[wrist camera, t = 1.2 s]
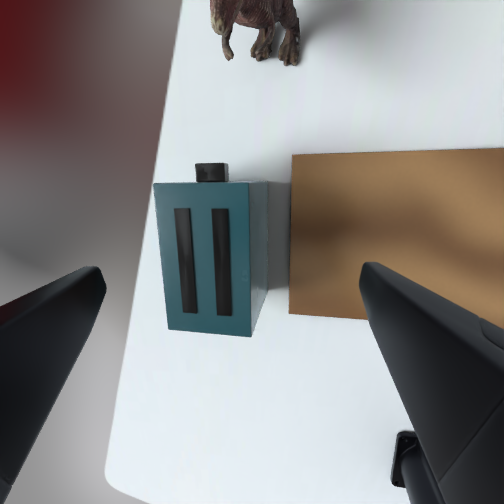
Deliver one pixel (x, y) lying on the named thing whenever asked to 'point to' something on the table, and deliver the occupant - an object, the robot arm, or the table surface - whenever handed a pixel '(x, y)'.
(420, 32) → the table surface
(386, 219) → the mat
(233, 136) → the table surface
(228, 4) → the dinosaur model
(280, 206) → the table surface
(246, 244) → the toaster
